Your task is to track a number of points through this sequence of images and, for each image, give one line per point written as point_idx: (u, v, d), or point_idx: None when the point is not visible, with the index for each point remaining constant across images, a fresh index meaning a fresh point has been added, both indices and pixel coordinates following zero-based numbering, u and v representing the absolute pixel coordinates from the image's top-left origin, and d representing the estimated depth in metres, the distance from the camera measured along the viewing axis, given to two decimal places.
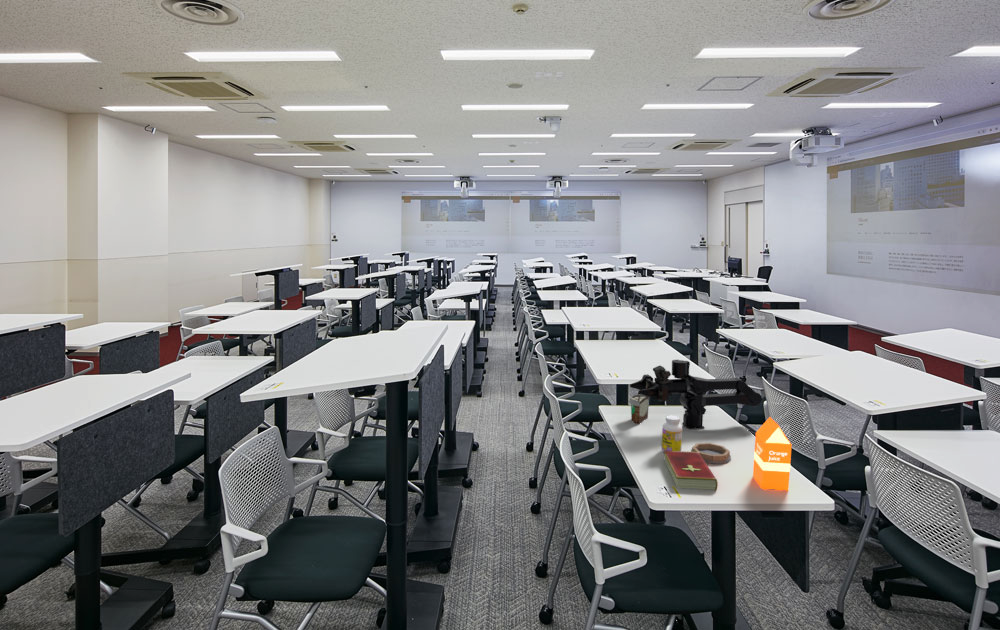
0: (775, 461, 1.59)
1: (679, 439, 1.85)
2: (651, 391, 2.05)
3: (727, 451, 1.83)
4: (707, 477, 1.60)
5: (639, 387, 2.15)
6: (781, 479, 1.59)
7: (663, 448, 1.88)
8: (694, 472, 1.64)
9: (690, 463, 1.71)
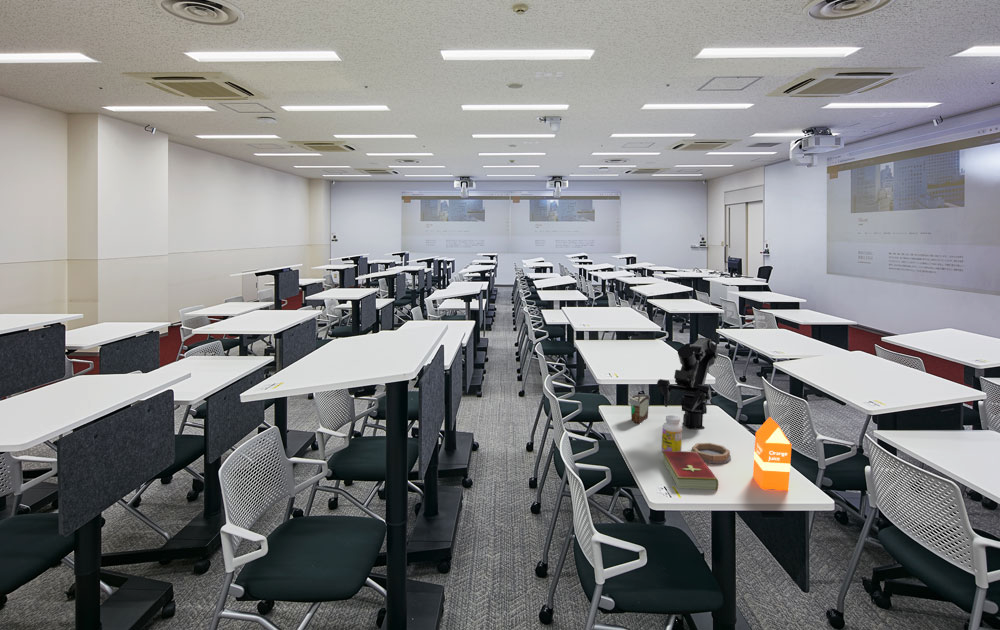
0: (775, 461, 1.59)
1: (679, 439, 1.85)
2: (697, 400, 1.93)
3: (727, 451, 1.83)
4: (708, 477, 1.61)
5: (668, 398, 1.99)
6: (781, 479, 1.59)
7: (663, 448, 1.88)
8: (694, 472, 1.64)
9: (690, 463, 1.71)
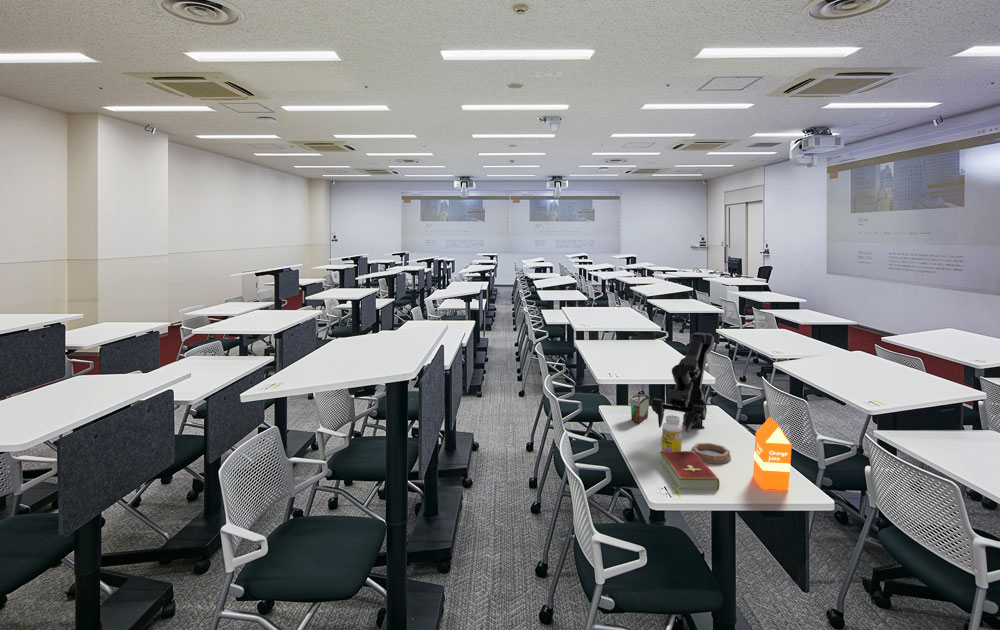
0: (775, 461, 1.59)
1: (679, 439, 1.85)
2: (692, 420, 1.87)
3: (727, 451, 1.83)
4: (709, 477, 1.61)
5: (662, 418, 1.93)
6: (781, 479, 1.59)
7: (663, 448, 1.88)
8: (695, 472, 1.64)
9: (689, 463, 1.71)
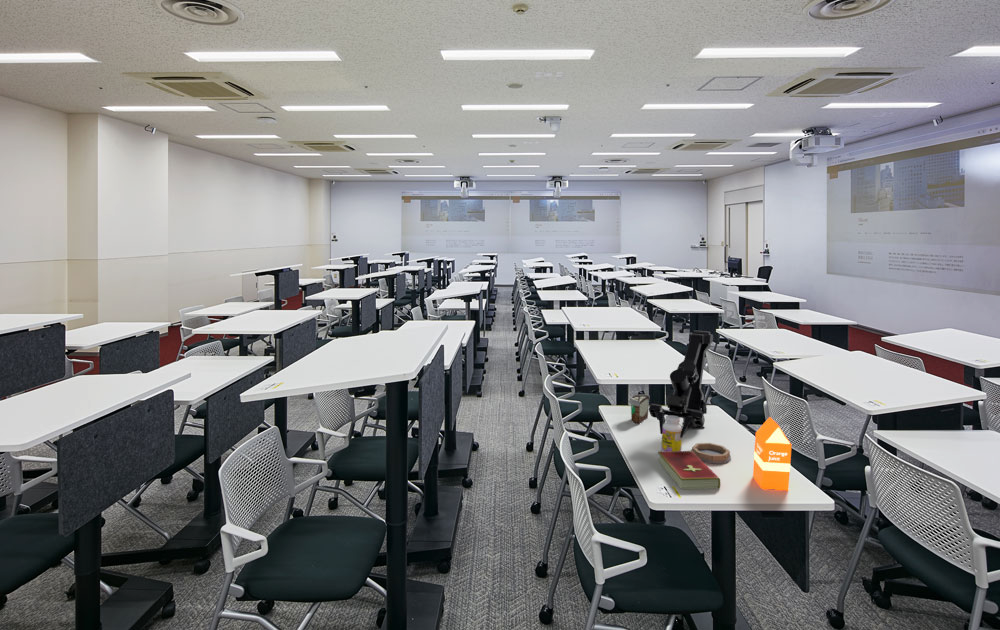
0: (775, 461, 1.59)
1: (679, 439, 1.85)
2: (687, 426, 1.86)
3: (727, 451, 1.83)
4: (710, 477, 1.61)
5: None
6: (781, 479, 1.59)
7: (663, 448, 1.88)
8: (696, 472, 1.64)
9: (688, 463, 1.71)
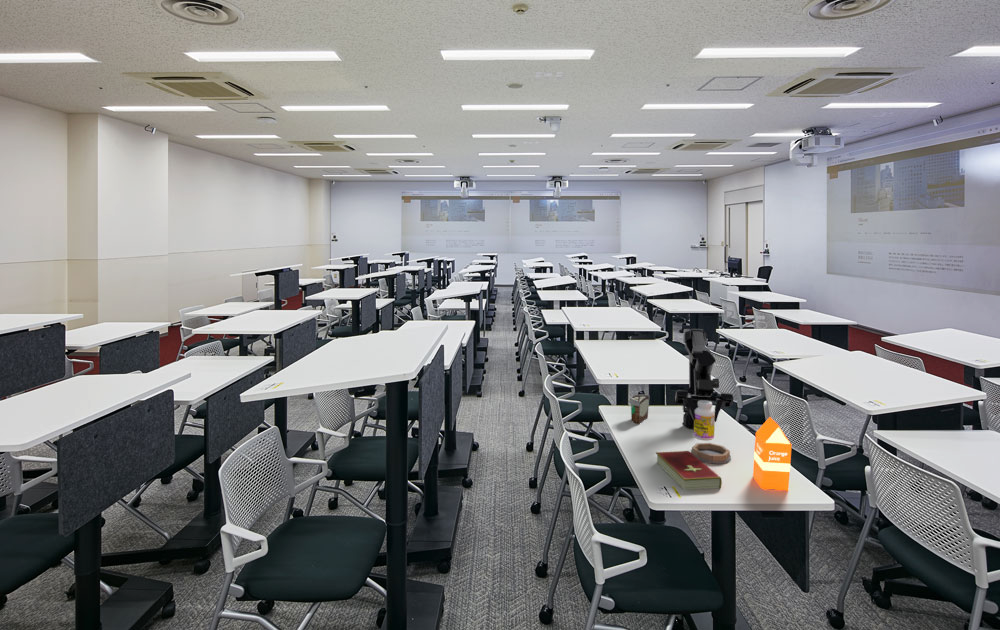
0: (775, 461, 1.59)
1: (714, 423, 1.82)
2: None
3: (727, 451, 1.83)
4: (711, 476, 1.61)
5: None
6: (781, 479, 1.59)
7: (698, 435, 1.82)
8: (697, 472, 1.64)
9: (688, 463, 1.71)
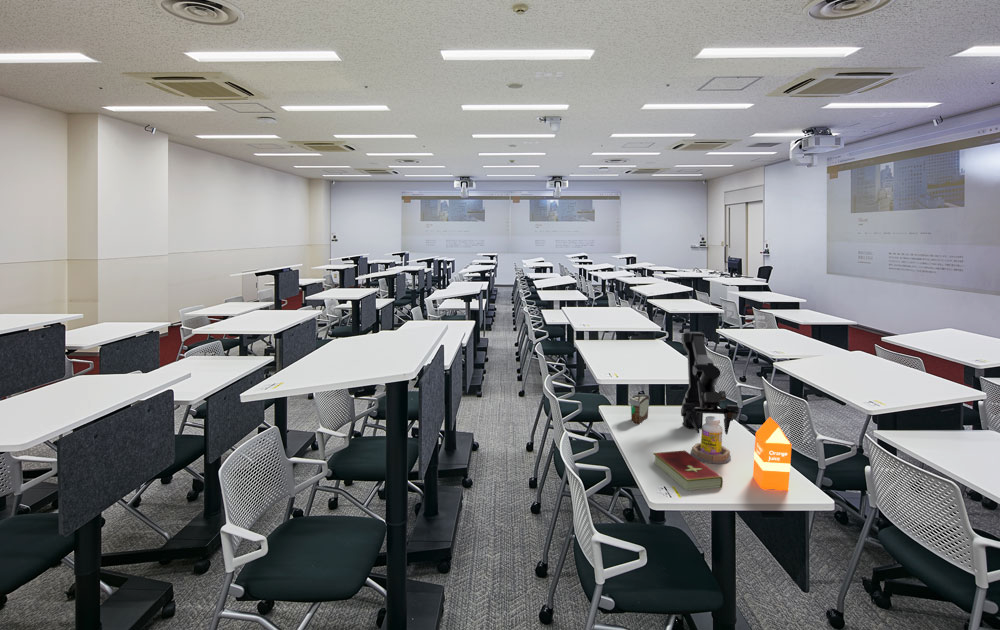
0: (775, 461, 1.59)
1: (721, 439, 1.82)
2: None
3: (727, 451, 1.83)
4: (713, 476, 1.61)
5: None
6: (781, 479, 1.59)
7: (706, 451, 1.83)
8: (698, 472, 1.64)
9: (687, 463, 1.71)
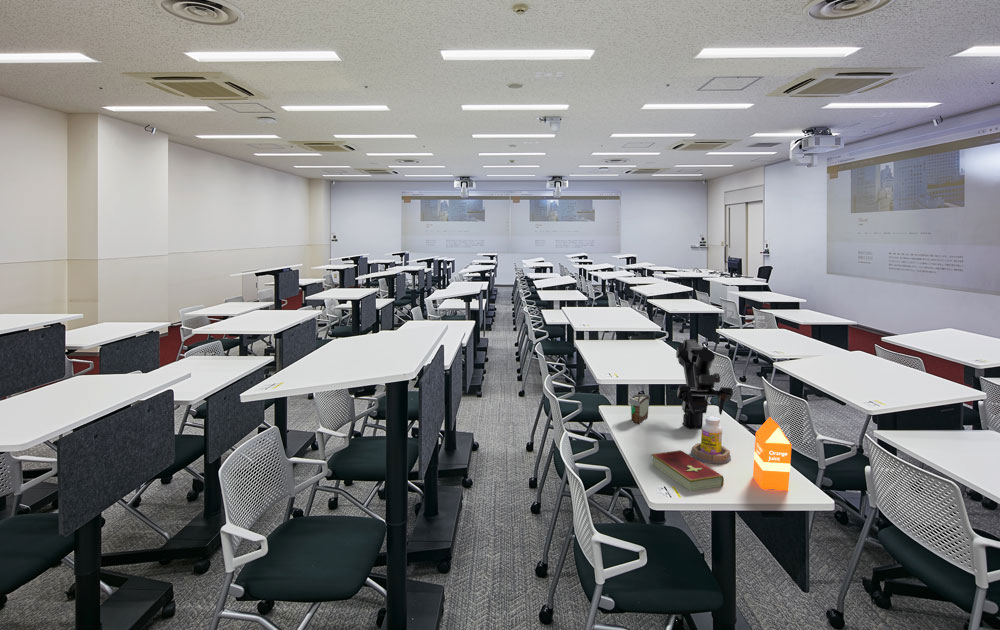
0: (775, 461, 1.59)
1: (721, 439, 1.82)
2: None
3: (727, 451, 1.83)
4: (714, 475, 1.62)
5: None
6: (781, 479, 1.59)
7: (706, 451, 1.83)
8: (699, 472, 1.64)
9: (686, 463, 1.71)
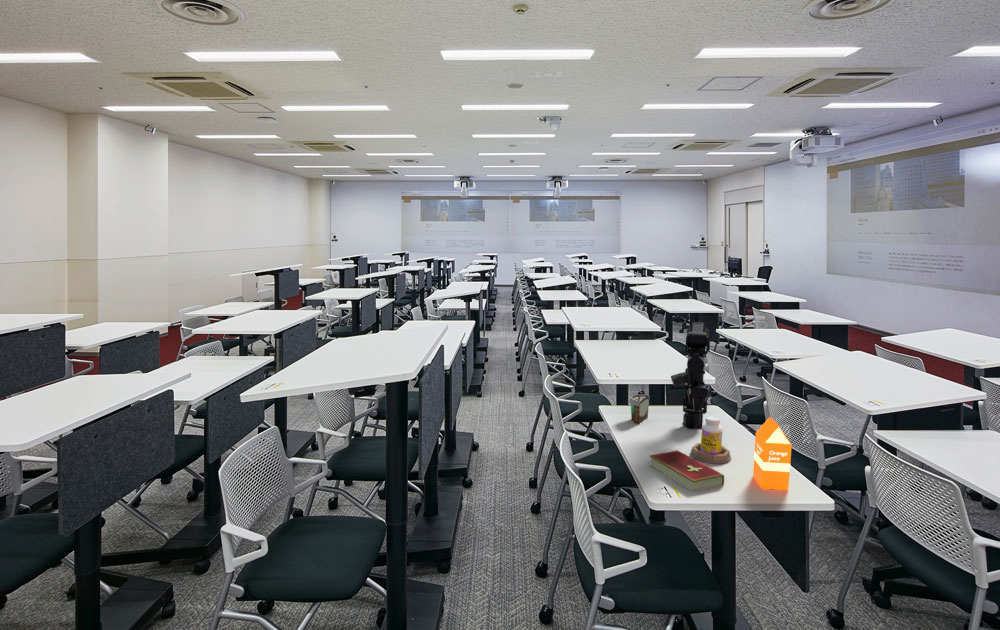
0: (775, 461, 1.59)
1: (721, 439, 1.82)
2: (696, 400, 1.91)
3: (727, 451, 1.83)
4: (715, 474, 1.62)
5: None
6: (781, 479, 1.59)
7: (706, 451, 1.83)
8: (700, 472, 1.64)
9: (685, 463, 1.71)
